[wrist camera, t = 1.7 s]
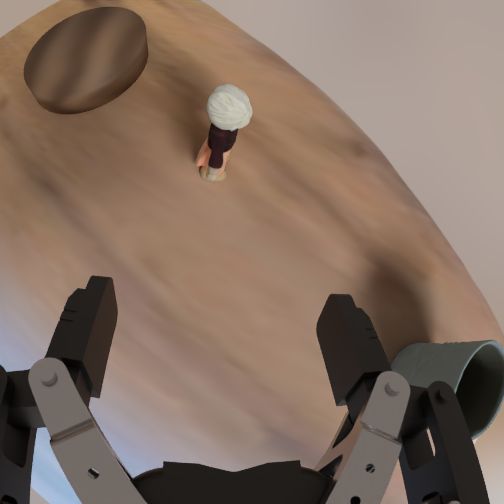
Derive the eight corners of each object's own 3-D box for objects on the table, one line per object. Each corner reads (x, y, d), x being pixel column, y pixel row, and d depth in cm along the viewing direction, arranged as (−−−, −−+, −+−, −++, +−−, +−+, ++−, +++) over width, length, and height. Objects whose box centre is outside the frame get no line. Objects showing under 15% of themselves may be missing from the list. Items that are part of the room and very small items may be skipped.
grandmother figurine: (199, 133, 32) (206, 53, 19) (234, 136, 32) (258, 59, 20) (192, 201, 31) (194, 140, 18) (230, 203, 31) (255, 145, 19)
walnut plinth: (17, 118, 28) (5, 102, 24) (59, 31, 30) (53, 14, 26) (131, 113, 31) (126, 92, 27) (160, 24, 33) (159, 4, 29)
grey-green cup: (388, 427, 31) (453, 461, 19) (370, 357, 32) (444, 377, 20) (445, 386, 33) (511, 402, 22) (432, 320, 34) (505, 322, 22)
